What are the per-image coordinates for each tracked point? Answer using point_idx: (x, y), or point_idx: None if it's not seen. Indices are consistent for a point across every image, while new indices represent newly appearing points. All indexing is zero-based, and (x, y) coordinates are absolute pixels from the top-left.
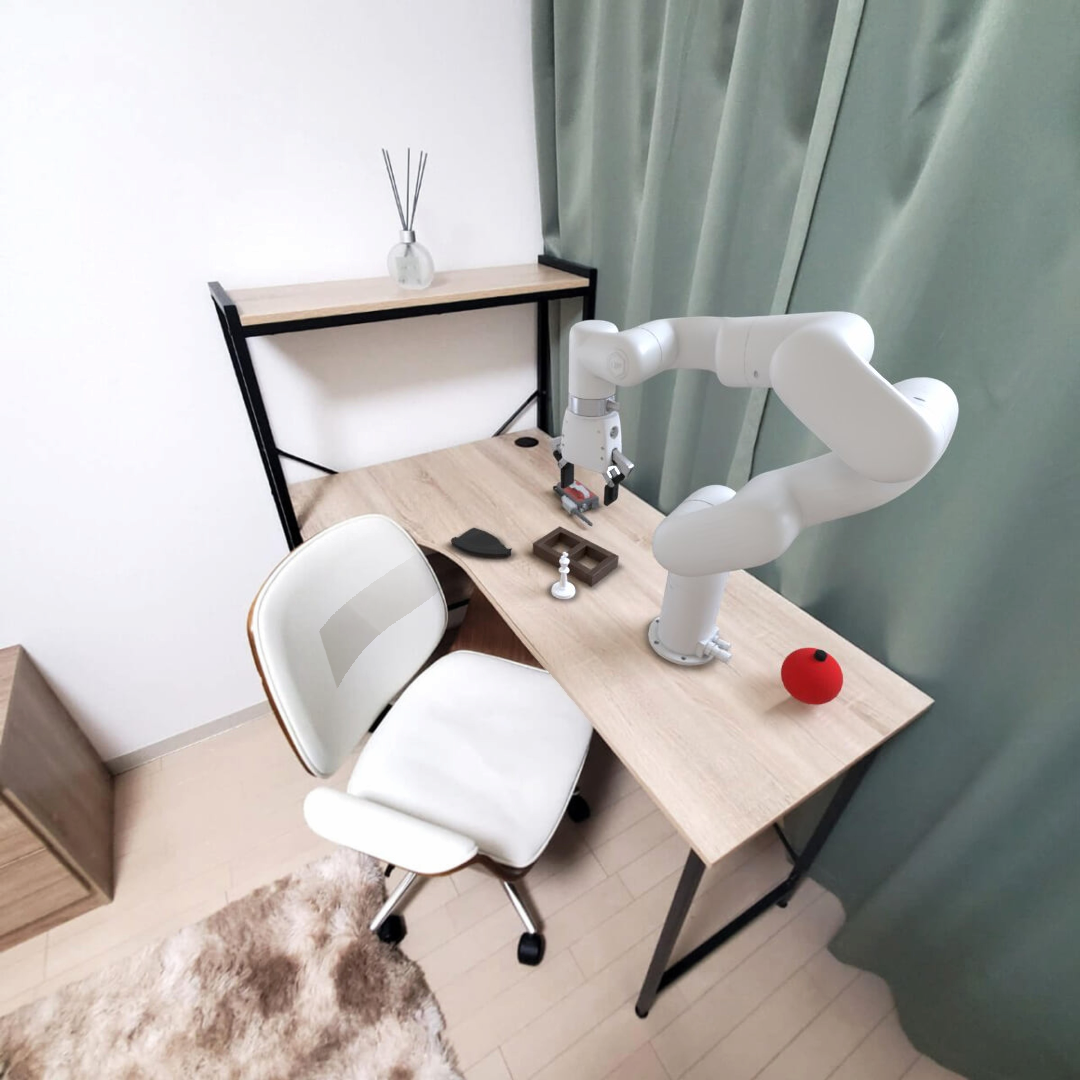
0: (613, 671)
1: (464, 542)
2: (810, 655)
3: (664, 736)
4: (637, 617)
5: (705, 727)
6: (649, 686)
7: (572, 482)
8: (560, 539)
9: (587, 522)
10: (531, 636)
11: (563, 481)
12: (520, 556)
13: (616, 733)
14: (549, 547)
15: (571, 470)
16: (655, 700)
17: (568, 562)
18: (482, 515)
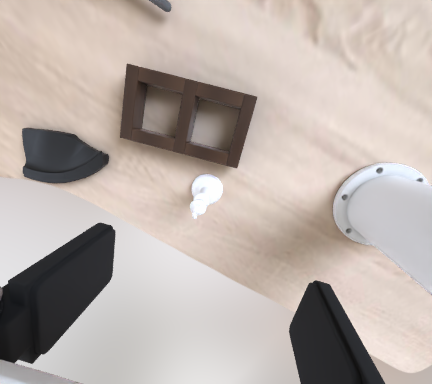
0: (306, 272)
1: (41, 168)
2: None
3: (369, 315)
4: (312, 191)
5: (408, 296)
6: (347, 275)
7: (111, 238)
8: (145, 84)
9: (159, 5)
10: (210, 264)
11: (87, 302)
12: (120, 150)
13: None
14: (147, 134)
15: (61, 289)
16: (355, 287)
17: (205, 208)
18: (4, 82)
